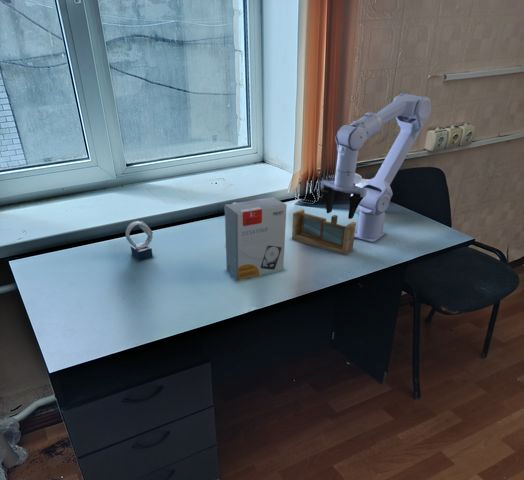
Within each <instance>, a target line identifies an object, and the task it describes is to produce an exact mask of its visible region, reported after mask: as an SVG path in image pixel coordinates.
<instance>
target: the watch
mask: <svg viewBox="0 0 524 480" xmlns="http://www.w3.org/2000/svg"><path fill="white" fill-rule="evenodd" d="M136 226H139V228H140V229H141V230H142V232H144V233H145V234H146V235H147V237H146V240H145V241H144V242H139V243H135V242H134V241H133V239H132V238H131V235H130V233H131V231H132V230H133V229H134V227H136ZM153 234H154V231H153V230H152V229H151V227H150V226H148V225H147V223H145V222H144V221H143V220H140V221H139V220H134V221H132V222H130V223H129V224H128V225H127V226H126V229H125V238H126V240H127V242H128V243H129V244H130V251H131V252H130V253H131V256H132V257H133V258H135V259H137V260H138V261H139V262H143V261H146V260H150V259H153V258H154V256H153V250H152V247H150V246H149V245H150V244H151V242H152V241H153V237H154V236H153Z"/></svg>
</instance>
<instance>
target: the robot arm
mask: <svg viewBox="0 0 524 480" xmlns="http://www.w3.org/2000/svg"><path fill="white" fill-rule="evenodd" d="M431 113H432V103H431V99H430V97H428V96H420V95H414V94H408V93H406V92H401V93H400V94H398V95H396V96H395V97H394V99H393V101H391V102H390V103H389V104H387V105H385V107H383V108H382V109H381V110H379V111H378V112H376V113H375V112H369V111H367V112H366V113H364V116H362V117H361V118H359V119H357V120H354V121H352V123H350V125H349V124H344V125H342V126H341V127H340V128H339V129H338V130H337V133H336V135H335V136H334V138H335V139H334V140H335V143H336V150H337V157H336V158H337V159H336V166H335V174H334V180H326V179H323V180H321V181H320V188H322V189H321V195H322V197H323V201H324V203H325V210H326V214H330V213H332V211H333V206H334V199H335V196H336V191H337V192H342V193H344V194H350V196H349V197H348V200H349V208H348V209H349V210H348V217H347V218H348V220H352V219H353V218H354V216H355V211H356V209H357V207H358V205H359V209H360V214H358V223H357V230H356V231H355V235H354V239H358V240H363V241H366V242H369V243H375V242H376V241H377V240H379V239H380V238H381V237H383V236H384V235H385V234H386V232H385V231H384V226H385V220H386V212H385V211H386V210H387V209H388V208H389V206H390V203H391V199H392V197H393V190H392V188H391V184H392V182H393V180H394V179H395V177H396V175H397V174H398V172H399V170H400V168H401V167H402V164H403V163H404V161H405V159H406V157H407V156H408V154H409V152H410V150H411V148H412V147H413V145H414V144H415V142H416V140H417V138H418V136H419V134H420V132H421V131H422V129H423V128H424V126H425V124H426V122H427V121H428V119H429V117H430V115H431ZM395 119H396V122H397V125H398V126H399V127H400V131H399V133H398V135H397V137H396V139H395V140H394V142H393V144H392V146H391V148H390V149H389V151H388V153H387V155H386V157H385V159H384V160H383V162H382V163H381V164H380V165H381V166H380V167H379V169H378V170H377V173H376V174H375V176H374V177H372V178H370V180H368V181H366V183H365V184H364V186H363V187H362V188H360V187H358V186H355V183H354V178H355V173H356V170H357V164H358V163H357V162H358V156H359V149H361V148H362V147H363V145H364V143H365V142H366V141H367V140H368V139H369V138H371V137H372V136H374V135H375V134H377V133H378V132H380V130H381V128H382V126H383V125H384V124H386V123H388V122H390V121H392V120H395ZM379 191H380V192H379ZM351 194H353V196H351Z"/></svg>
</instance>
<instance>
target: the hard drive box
mask: <svg viewBox="0 0 524 480" xmlns="http://www.w3.org/2000/svg"><path fill="white" fill-rule="evenodd" d="M286 222H287V204H286V203H285V202H283V201H281V200H279V199H278V198H276V197H274V196H272V197H265V198H259V199H252V200H247V201H240V202H239V201H238V202H233V203H228V204H224V228H225V229H224V231H225V258H226V259H225V260H226V261H225V262H226V264H225V265H226V268H225V269H226V272H227V273H228V274H229V275H230V276H231V277H232V278H234V280H235V281H236V282H238V281H241V280H249V279H252V278H256V277H260V276H265V275H269V274H270V275H272V274H275V273H278V272H283V271H284V263H285V244H286V226H287V225H286V224H287V223H286Z"/></svg>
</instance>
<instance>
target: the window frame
mask: <svg viewBox="0 0 524 480" xmlns="http://www.w3.org/2000/svg"><path fill="white" fill-rule="evenodd" d="M321 221H327V218H326V217H321V216H318V215H315V214H314V215H313V214H310V213H306V212H305V209H304V208H301V209H298V210H296V211H295V212H293V213H292V229H291V230H292V232H291V240H292V241H295V242H299V243H302V244H306V245H308V246H313V247H316V248H320V249H323V250H325V251H326V250H327V251H330V252H333V253H337V254H341V255H343V256H346V255H348V254H349V253H350V252H351V251H353V249H354V242H355V238H354V235H355V233H356V225H357V222H356V221H355V222H354V221H352V222H350V223H348V224H347V225H344V226H345V231H344V240H343V247H340V246H337V245H333V244H330V243H326V242H323V241H320V229H321Z"/></svg>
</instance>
